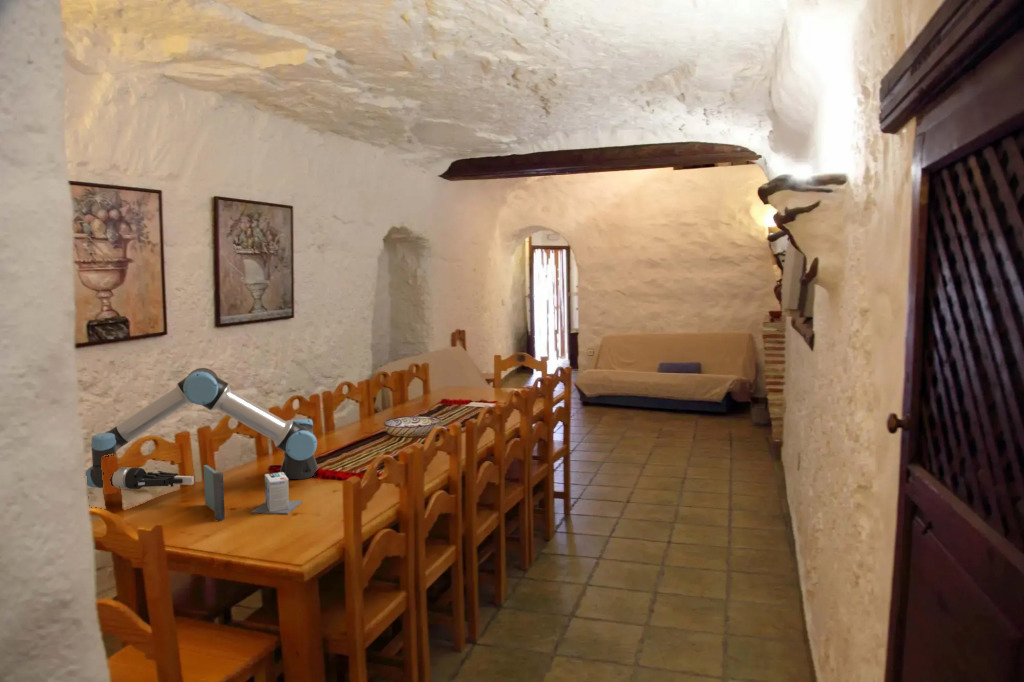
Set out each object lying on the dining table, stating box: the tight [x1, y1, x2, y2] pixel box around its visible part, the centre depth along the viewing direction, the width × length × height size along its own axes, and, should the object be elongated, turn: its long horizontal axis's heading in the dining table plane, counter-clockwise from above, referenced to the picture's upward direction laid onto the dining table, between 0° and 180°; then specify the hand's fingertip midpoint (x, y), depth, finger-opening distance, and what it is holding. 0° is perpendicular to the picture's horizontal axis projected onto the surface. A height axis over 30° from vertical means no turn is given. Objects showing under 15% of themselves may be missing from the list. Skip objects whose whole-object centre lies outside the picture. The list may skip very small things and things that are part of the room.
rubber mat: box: [251, 500, 304, 516], centre depth 252 cm, size 13×13×1 cm
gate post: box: [213, 471, 226, 522], centre depth 239 cm, size 2×2×16 cm
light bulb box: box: [264, 471, 290, 512], centre depth 252 cm, size 11×7×11 cm, turn 28°
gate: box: [203, 464, 218, 513], centre depth 248 cm, size 18×1×14 cm, turn 39°
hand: (192, 480), depth 254 cm, fingers closed
